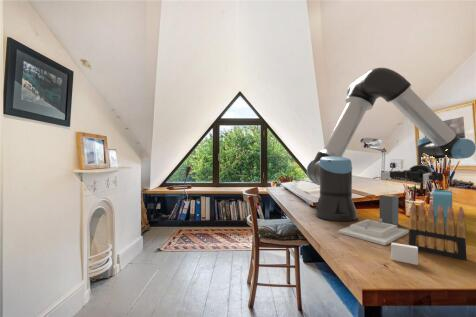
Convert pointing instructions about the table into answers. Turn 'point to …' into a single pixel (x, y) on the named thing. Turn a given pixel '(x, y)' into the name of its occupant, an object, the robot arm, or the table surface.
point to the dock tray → (374, 231)
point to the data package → (442, 203)
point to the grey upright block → (389, 209)
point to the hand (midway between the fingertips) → (401, 177)
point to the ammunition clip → (438, 232)
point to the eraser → (404, 253)
